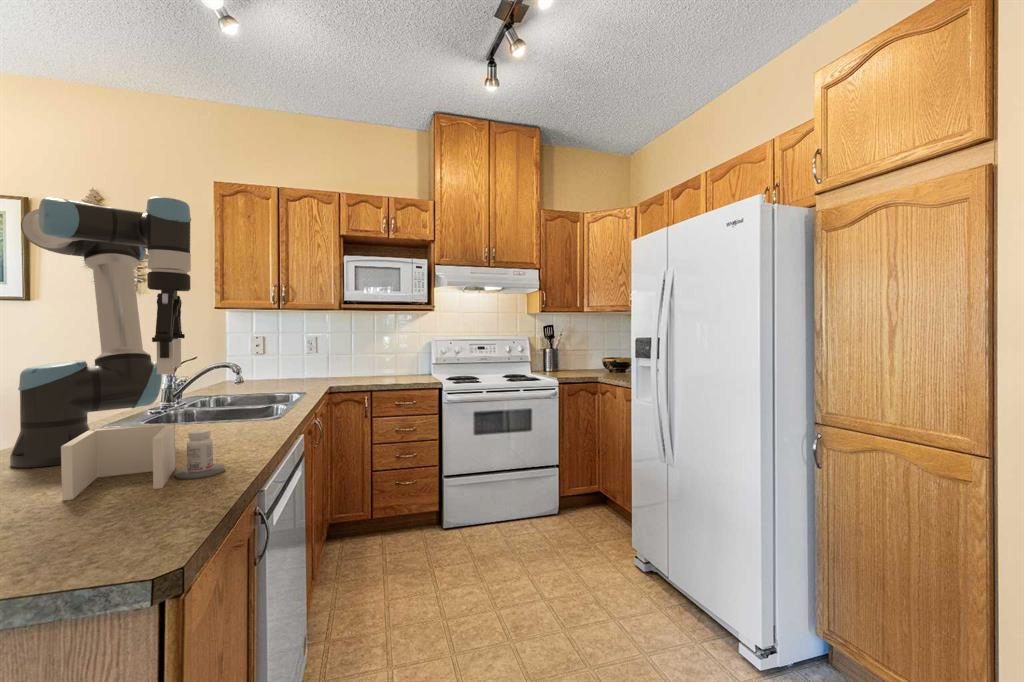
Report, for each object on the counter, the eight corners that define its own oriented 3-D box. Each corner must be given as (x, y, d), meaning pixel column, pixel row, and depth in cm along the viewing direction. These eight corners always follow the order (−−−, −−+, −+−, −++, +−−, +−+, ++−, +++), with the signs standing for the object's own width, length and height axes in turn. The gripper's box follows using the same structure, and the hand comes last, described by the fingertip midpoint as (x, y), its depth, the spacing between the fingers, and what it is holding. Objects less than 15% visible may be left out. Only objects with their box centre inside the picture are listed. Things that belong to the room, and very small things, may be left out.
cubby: (90, 476, 101) (89, 429, 100) (175, 467, 108) (174, 423, 107) (62, 500, 87) (60, 446, 86) (162, 487, 94) (161, 437, 93)
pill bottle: (207, 465, 107) (207, 427, 106) (217, 468, 104) (216, 430, 104) (183, 470, 103) (182, 431, 103) (192, 474, 100) (191, 434, 100)
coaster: (178, 470, 105) (178, 466, 105) (225, 465, 109) (225, 461, 109) (171, 482, 97) (171, 478, 97) (223, 475, 101) (222, 472, 101)
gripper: (156, 274, 111) (157, 365, 112) (135, 265, 89) (136, 377, 90) (195, 277, 114) (195, 364, 115) (184, 268, 93) (184, 376, 94)
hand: (169, 370), depth 103 cm, fingers open, 13 cm apart
